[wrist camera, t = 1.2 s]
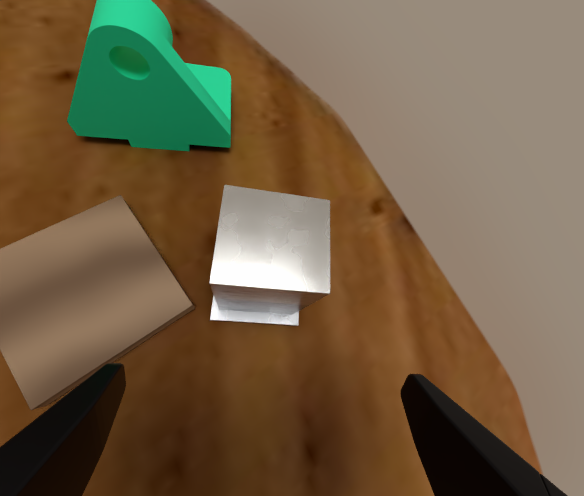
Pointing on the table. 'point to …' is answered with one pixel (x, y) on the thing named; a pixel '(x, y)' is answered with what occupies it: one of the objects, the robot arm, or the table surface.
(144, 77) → the camera mount
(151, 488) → the table surface
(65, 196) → the table surface
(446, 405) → the robot arm
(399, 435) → the table surface
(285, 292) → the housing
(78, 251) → the stand
